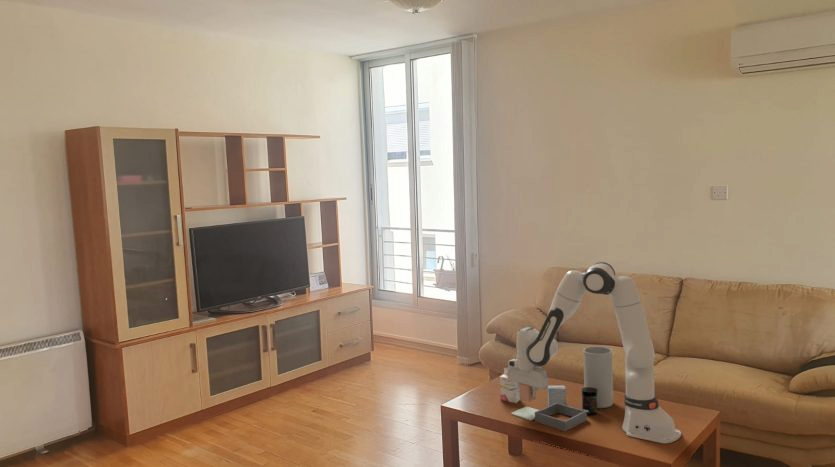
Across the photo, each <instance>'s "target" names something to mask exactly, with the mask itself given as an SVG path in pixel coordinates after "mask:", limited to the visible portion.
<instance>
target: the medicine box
mask: <svg viewBox="0 0 835 467" xmlns="http://www.w3.org/2000/svg"><path fill="white" fill-rule="evenodd" d="M566 391H567V389H566V386H565V385H548V387H547V405H548V406H550V405H552V404H554V403H560V404H563V405H567V392H566Z"/></svg>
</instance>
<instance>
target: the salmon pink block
mask: <svg viewBox="0 0 835 467" xmlns="http://www.w3.org/2000/svg"><path fill="white" fill-rule="evenodd" d="M533 390H534V389H533V387H532V386H528V385H524V384H519V392H520V401H524V402H527V403H529V402H532V401H535V400H536V398H537V395H536V396H531V392H532V391H533Z"/></svg>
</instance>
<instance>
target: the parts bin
mask: <svg viewBox="0 0 835 467" xmlns="http://www.w3.org/2000/svg"><path fill="white" fill-rule="evenodd" d="M538 410H539V411H537V412H535V419H534V422H536V423H539V424H542V425H545V426H548V427H551V428H554V429H558V430H561V431H563V432H568V431H569V430H571V429H573V428H575V427H577V426H579V425H580V424H583V423H585V422H587V421H588V415H587V411H584V410H582V408H581V409H580V408H577V407H574V406H570V405H567V404H566V405H563V404H560V403H554V404H552V405H550V406H549V405H548V406H545V407H544V408H541V409H538ZM556 413H558V414H561V415H562V414H563V415H565V416H568V417H570V418H568V419H566V420H563V419H560V418H557V417H553V416H552V415H554V414H556Z"/></svg>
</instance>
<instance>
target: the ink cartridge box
mask: <svg viewBox="0 0 835 467" xmlns="http://www.w3.org/2000/svg"><path fill="white" fill-rule="evenodd" d="M507 368H508V367H503V374H501V375H500V376H499V389H500V390H499V391H500V392H499V395H500V401H502V402H509V403H512V404H513V403H514V404H517V403H518V402H520V401H521V400H520V392H519V387H518V385H517V382H514V381H510V380H509V379H508V378H507Z"/></svg>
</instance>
